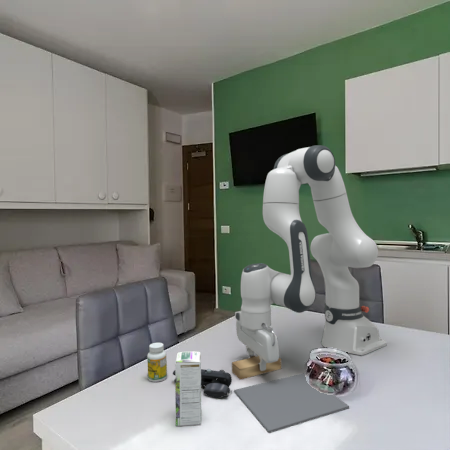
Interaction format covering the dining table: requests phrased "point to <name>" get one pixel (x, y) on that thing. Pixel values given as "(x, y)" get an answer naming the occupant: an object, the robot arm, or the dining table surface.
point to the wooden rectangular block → (252, 367)
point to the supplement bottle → (157, 363)
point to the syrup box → (188, 388)
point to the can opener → (215, 382)
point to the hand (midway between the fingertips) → (256, 365)
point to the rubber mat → (287, 402)
